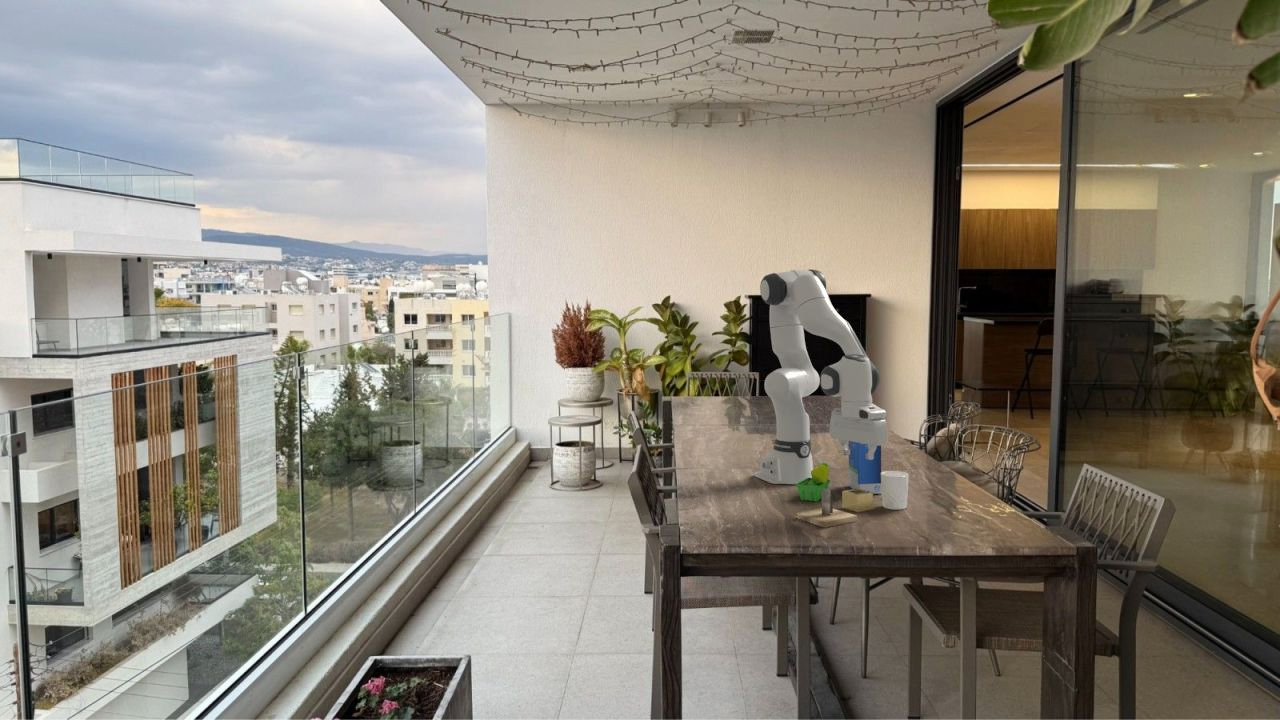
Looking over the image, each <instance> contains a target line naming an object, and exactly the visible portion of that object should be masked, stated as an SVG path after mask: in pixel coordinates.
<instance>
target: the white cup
mask: <svg viewBox="0 0 1280 720" xmlns="http://www.w3.org/2000/svg"><path fill="white" fill-rule="evenodd" d="M881 490H882V494H881V498H882V507H883V508H884V509H887V510H892V511H893V510H905V509H907V505H908V493H909V473H908V472H906V471H900V470H886V471H885V470H884V471H881Z"/></svg>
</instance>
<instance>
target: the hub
mask: <svg viewBox="0 0 1280 720" xmlns="http://www.w3.org/2000/svg"><path fill="white" fill-rule="evenodd" d="M841 499H842V500H841V503H842V504H841V507H842V509H845V510H849V511H852V512H856V513H859V512H866V511H870V510H873V509H874V494H873V492H870V491H866V490H862V489H858V488H857V489H853V488H851V489H847V490H842V491H841Z"/></svg>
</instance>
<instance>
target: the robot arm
mask: <svg viewBox="0 0 1280 720" xmlns="http://www.w3.org/2000/svg"><path fill="white" fill-rule="evenodd" d="M759 291H760V296H761V299H762V300H763V302H764V303H765V304H767V305H769V331H770V339H771V348H772V351H773V353H774V354H775V355H776V357H777V358H778V360H779V363H780V366H781V368H777V369H775V370H773V371H772V372H770V373H769V374H767V376H765V377H766V378H765V380H764V391H765V393H766V394H767V396H768V397H769V398H770V400H771V401H772V405H773V409H774V412H775V420H776V421H775V422H776V439H772V440H771V444H774V445H773V447H772V448H773V449H772V450H771V451H769V453H768V454H766V455H764V457H763V458H762V459H761V461H760V469H759V470H758V471H756V472H754V473H753V476H754V477H755V478H757V479H759V480H763V481H765V482H766V483H767V482H768V483H770V484H772V485H784V484H785V485H796V484H797V483H799V482H801V481H803V480H805V479H806V478H812V476H811V471H812V470H813V469H814V463H813V455H812V453H811V450H812V440H811V437H810V431H811V430H810V429H811V427H810V425H811V424H810V415H809V414H808V413H807V412H806V410H805V406H804V403H803V398H804V397H808V396H810V395H811V394H812V393H814V392H815V391H816V390H817V389H818V388H819V386H820V388H821V390H822V392H823V393H824V394H825V395H827V396H828V397H833V398H834V397H835V398H837V397H841V398H840V399H841V401H840V403H841V405H840V406H841V408H840V407H835V408H833V409H832V410H831V413H830V414H831V417H830V420H829V429H828V430H829V432H828V433H829V436H830V438H831V439H834V440H838V443H839V446H840V448H841V452H842V453H841V454H842V456H849V455H850V449H849V446H848V445H847V443H848V441H852V442H858V443H864V444H868V448H869V451H868V453H866V459H868V460H872V459H874V452H875V450H876V448H877V446H880V445H881V446H884V445H886V444H887V442H888V438H889V434H888V423H887V421H886V419H885V418H886V417H887V410H885V409H883V408H881V407H879V406H878V405H876V404H875V403H873V397H872V395H873V394H874V393H875V392H876V391H877V389H878V387H879V385H880V382H881V377H880V372H879V370H878V369H877V367H876V366H875V365H874V364H873V362H872V361H871V360H870V358H869V356H868V355H867V353H866V351H865V349H864V347H863V346H862V343H861V342H860V340H859V338H858V336H857V335H856V334H857V333H855V331H854V330H853V328H852V326H851V324H850V323H849V321H847V320H846V319H844V318H843V317H842V316H841V315H840V314H839V313H838V311H837V310H836V309H835V307H834V306H833V304H832V302H831V299H830V297H829V294H828V292H827V280H826V278H825V275H824V274H823V273H822V272H821V271H820V270H819V269H807V270H806V269H795V270H794V269H792V270H789V271H781V272H778V273H775V272H772V273H769V274H766V275H765V276H763V277H762V280H761V281H760V285H759ZM804 331H806V332H808V333H810V334H812V335H815V336H819V337H822V338H826V339H828V340H831V341H833V342H835V343H836V344H838V345H839V346H840V348H841V350H842V351H843V353H844V354H845V355H843V356H842V358H841V359H840V360H838V362H835V363H833V364H830V365H828V366H827V365H826V366H825V367H824V368H823V369H822V371H821V373H820V375H819V373H818V371H817V370H816V369H815V368H814V366H813V365H812V362H811V359H810V356H809V353H808V351H807V346H806V341H805V332H804Z"/></svg>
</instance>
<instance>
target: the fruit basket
mask: <svg viewBox="0 0 1280 720" xmlns="http://www.w3.org/2000/svg"><path fill="white" fill-rule="evenodd" d="M829 474H830V468H829V464H827V463H826V462H821V463H819V465H818V466H815V467H813V470H812V471H811V476H812V478H806V479H805V480H803V481H801V482H799V483H797V484H795V485H796V488H797V489H798V490H797V491H798V494H799V497H800V500H801V501H807V500H809V501H808V502H818V501H819V500H822V489H829V485H830V483H831V479H829V477H830V475H829Z"/></svg>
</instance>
